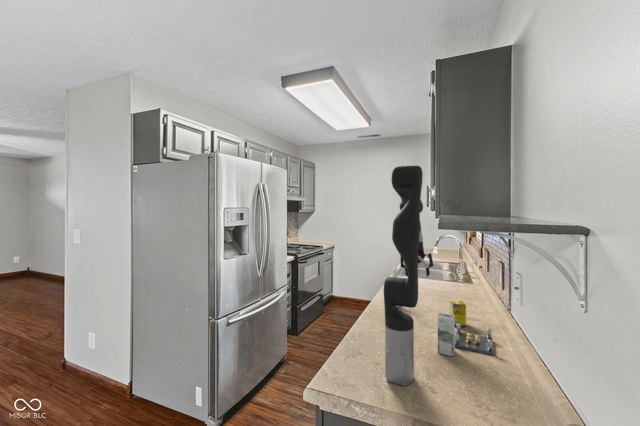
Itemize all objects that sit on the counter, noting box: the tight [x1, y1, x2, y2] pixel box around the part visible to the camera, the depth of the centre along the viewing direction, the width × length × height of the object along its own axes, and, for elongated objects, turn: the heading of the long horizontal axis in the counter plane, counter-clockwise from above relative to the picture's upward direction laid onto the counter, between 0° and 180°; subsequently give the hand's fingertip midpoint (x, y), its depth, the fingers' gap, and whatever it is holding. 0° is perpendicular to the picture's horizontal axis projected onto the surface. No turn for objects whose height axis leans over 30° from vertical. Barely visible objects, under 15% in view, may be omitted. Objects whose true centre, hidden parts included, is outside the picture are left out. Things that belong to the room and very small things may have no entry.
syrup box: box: [437, 312, 456, 358], centre depth 110 cm, size 6×6×14 cm
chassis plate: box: [455, 323, 495, 356], centre depth 117 cm, size 14×14×5 cm
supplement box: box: [449, 299, 467, 328], centre depth 137 cm, size 6×6×11 cm
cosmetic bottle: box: [391, 267, 400, 308], centre depth 165 cm, size 6×6×22 cm
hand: (417, 276), depth 129 cm, fingers open, 8 cm apart
